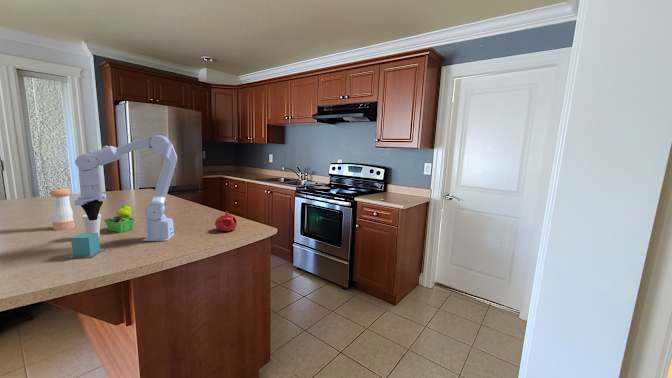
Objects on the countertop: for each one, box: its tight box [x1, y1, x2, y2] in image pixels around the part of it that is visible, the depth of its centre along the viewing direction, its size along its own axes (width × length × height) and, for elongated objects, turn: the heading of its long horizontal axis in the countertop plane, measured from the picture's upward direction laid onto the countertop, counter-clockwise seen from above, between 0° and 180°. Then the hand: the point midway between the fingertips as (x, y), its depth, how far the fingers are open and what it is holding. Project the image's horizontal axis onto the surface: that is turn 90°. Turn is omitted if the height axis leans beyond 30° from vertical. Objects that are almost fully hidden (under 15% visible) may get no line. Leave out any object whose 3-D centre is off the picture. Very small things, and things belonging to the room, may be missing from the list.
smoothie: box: [81, 213, 102, 236], centre depth 116 cm, size 6×6×14 cm
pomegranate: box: [214, 210, 238, 232], centre depth 134 cm, size 10×10×9 cm
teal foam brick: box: [71, 232, 101, 256], centre depth 99 cm, size 5×5×7 cm
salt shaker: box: [49, 186, 76, 231], centre depth 127 cm, size 7×7×19 cm
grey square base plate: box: [68, 248, 105, 259], centre depth 99 cm, size 7×7×6 cm
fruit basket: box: [103, 204, 136, 233], centre depth 128 cm, size 11×9×11 cm
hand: (93, 219), depth 108 cm, fingers closed
